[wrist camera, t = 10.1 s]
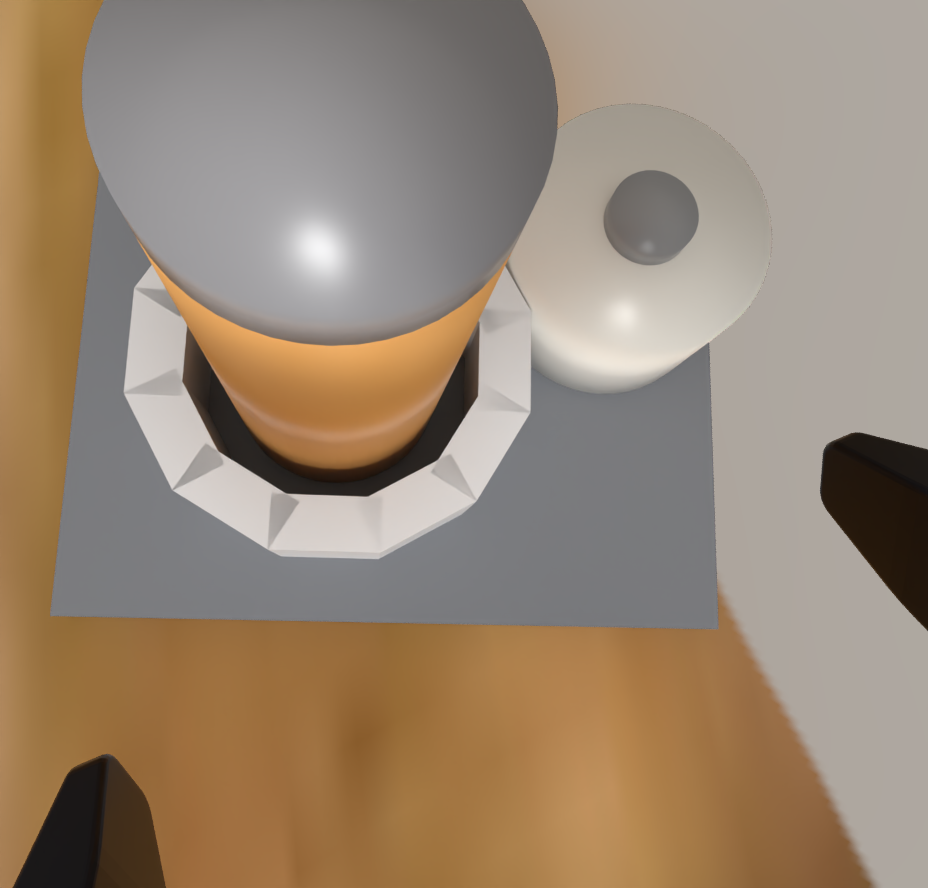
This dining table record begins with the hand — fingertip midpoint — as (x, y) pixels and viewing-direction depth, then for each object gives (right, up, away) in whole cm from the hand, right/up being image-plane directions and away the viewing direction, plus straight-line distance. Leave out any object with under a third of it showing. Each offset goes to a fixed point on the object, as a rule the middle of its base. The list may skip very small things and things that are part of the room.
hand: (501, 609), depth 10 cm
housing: (-2, +3, +13) cm, 14 cm away
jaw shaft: (-4, +3, +12) cm, 13 cm away
